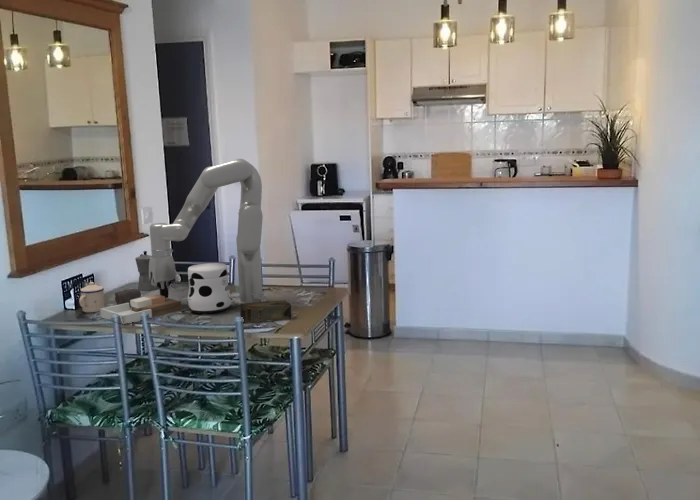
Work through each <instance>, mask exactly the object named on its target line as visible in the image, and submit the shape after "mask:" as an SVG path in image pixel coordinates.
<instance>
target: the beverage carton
mask: <svg viewBox="0 0 700 500" xmlns="http://www.w3.org/2000/svg"><path fill="white" fill-rule="evenodd" d="M292 313H293V312H292V304H291V303H290V300H288V299H283V300H272V301H268V300H267V301H266V302H253V303H241V304H240V305H239V315H240V316H241V317H243V319H244V322H245V323H244V324H249V323H248V322H251V323H258V322H257V321H263V322H267V321H266V320H275V321H283V320H282V319H285V320H292V319H293V317H292V316H293V315H292ZM241 317H240V318H241ZM291 318H292V319H291Z"/></svg>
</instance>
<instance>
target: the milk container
mask: <svg viewBox="0 0 700 500" xmlns="http://www.w3.org/2000/svg"><path fill="white" fill-rule="evenodd" d="M187 276H188V280H187V281H188V293H187V298H186V300H187V306H188V308H189V310H190V311H192V312H194V313H200V314H205V313H206V314H210V313H211V314H212V313H218V312H221V311H224V310H227V309H228V308H229V307H230V306H231V303H232V294H231V290H230V288H229V275H228V266H227V264H225V263H221V262H219V263H218V262H210V263H209V262H207V263H198V264H192V265H191V266H189V267H188V268H187Z"/></svg>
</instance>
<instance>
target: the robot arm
mask: <svg viewBox="0 0 700 500" xmlns="http://www.w3.org/2000/svg"><path fill="white" fill-rule="evenodd" d="M236 183H239V184H240V200H239V201H240V203H239V209H238V213H237V214H238V220H237V235H236V250H237V251H236V253H237V255H236V257H237V271H238V290H239V298H238V299H237V300H235V303H236V305H238V306H240V304H241V303H253V302H268V300H267V299H268V297H267V296H265V294H264V292H263V279H262V278H263V276H262V257H261V244H262V243H261V242H262V233H263V232H262V231H263V220H264V219H263V217H264V215H263V210H262V194H263V193H262V192H263V191H262V188H263V185H262V184H263V183H262V179H261V175H260V173H259V172H258V169H257V168H256V167H255V166H254V165H252V164H251V163H250V162H249V161H247V160H245V159H244V158H237V159H234V160H232V161H229V162H224V163H221V164H216V165H213V166H211V165H210V166H207V167H205V168H204V169H203V170H202V172H201V173H200V176H199V177H198V178H197V180H196V182H195V184H194V185H193V187H192V189H191V190H190V191H189V194H188V195H187V196H186V199H185V202H184V204H183V206H182V207H181V210H180V211H179V213H178V215H177V216H176V218H175V219H174V221H173V223H170V224H169V223H167V222H155V223H151V224H150V225H149V235H150V236H149V238H150V250H151V256H152V258H150V261H149V280H150V281H151V285H153V286H157V287H158V288H157V289H159V295H162V296H165V298H169V288H170V286H171V285H172V283H175V282H176V276H177V274H176V273H177V272H176V265H175V260H174V257H173V255H172V253H173V252H174V249H173V248H171V242H181V241H182V242H183V241H184V240H186V238H187V237H188V236H189V233H190V231H192V228H193V226H194V224H195V223H196V222H197V220H198V218H199V217H200V216H201V214H202V213H203V212H204V211H205V209H206V208H207V206H208V205H209V203H210V201H211V200H212V199H213V197H214V195H215V193H216V192H217V190H218V189H219V188H221V187H225V186H229V185H232V184H236ZM156 282H157V283H156Z"/></svg>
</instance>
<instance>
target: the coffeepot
mask: <svg viewBox="0 0 700 500" xmlns="http://www.w3.org/2000/svg"><path fill="white" fill-rule="evenodd" d="M147 252H148V251H146V250H144V251H143V253H141V254H139V256H137V257H135V263H136V266H137V267H136V268H137V272H138V273H139V274H138V275H139V276H138V285H137V290H139V291H140V292H141V291H142V292H145V291H146V292H147V291H148V292H150V291H155V290H157V289H159V288H158V287H157V286H153V285H151V281H150V280H149V261H150V258H152V254H148V253H147ZM156 283H157V282H156Z"/></svg>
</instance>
